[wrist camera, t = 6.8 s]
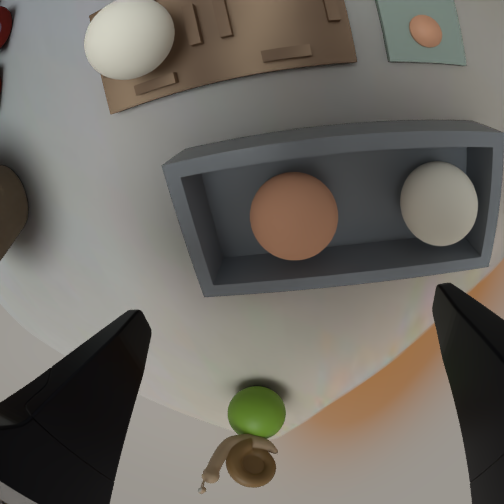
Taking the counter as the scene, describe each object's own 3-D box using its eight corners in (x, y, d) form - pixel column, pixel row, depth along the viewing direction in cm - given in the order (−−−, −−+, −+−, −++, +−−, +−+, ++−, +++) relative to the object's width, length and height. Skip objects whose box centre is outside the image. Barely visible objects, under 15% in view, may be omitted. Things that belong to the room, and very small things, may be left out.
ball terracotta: (335, 230, 18) (346, 272, 15) (262, 238, 19) (254, 282, 15) (328, 157, 16) (340, 183, 12) (247, 168, 17) (234, 197, 13)
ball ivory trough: (456, 151, 14) (496, 175, 11) (453, 220, 17) (485, 257, 13) (389, 153, 15) (416, 179, 12) (390, 226, 18) (412, 267, 14)
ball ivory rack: (178, -6, 12) (142, -27, 8) (194, 64, 14) (160, 61, 10) (108, 23, 13) (60, 16, 9) (122, 88, 15) (75, 96, 11)
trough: (471, 120, 14) (504, 132, 11) (465, 238, 18) (488, 266, 15) (185, 149, 17) (161, 165, 14) (217, 264, 21) (204, 297, 18)
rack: (327, -45, 10) (329, -56, 9) (353, 62, 14) (359, 61, 12) (97, 17, 13) (83, 14, 12) (118, 112, 17) (105, 116, 15)
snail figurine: (233, 365, 27) (205, 487, 17) (296, 384, 28) (287, 502, 17) (217, 392, 30) (191, 496, 20) (274, 408, 30) (261, 510, 20)
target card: (439, -37, 9) (443, -40, 8) (463, 65, 12) (468, 65, 12) (361, -46, 10) (363, -49, 9) (388, 61, 13) (391, 61, 13)
